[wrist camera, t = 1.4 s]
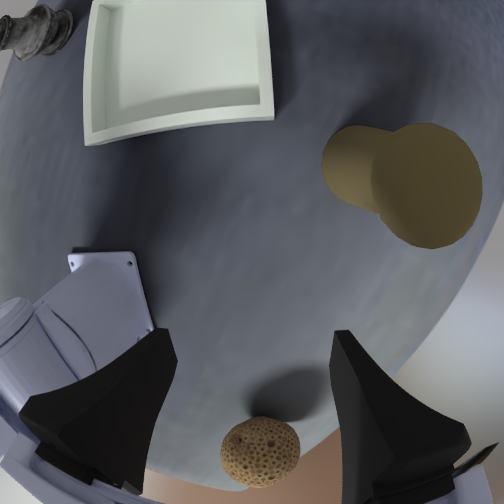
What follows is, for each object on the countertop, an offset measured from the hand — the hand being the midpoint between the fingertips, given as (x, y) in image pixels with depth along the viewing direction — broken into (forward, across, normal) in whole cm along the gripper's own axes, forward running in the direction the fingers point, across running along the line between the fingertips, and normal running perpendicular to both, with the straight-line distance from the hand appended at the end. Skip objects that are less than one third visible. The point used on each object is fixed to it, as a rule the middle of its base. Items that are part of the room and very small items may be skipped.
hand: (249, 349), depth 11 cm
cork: (+11, -7, -7) cm, 15 cm away
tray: (+10, +6, -17) cm, 20 cm away
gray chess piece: (+10, +18, -24) cm, 32 cm away
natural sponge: (+10, +1, +21) cm, 24 cm away
